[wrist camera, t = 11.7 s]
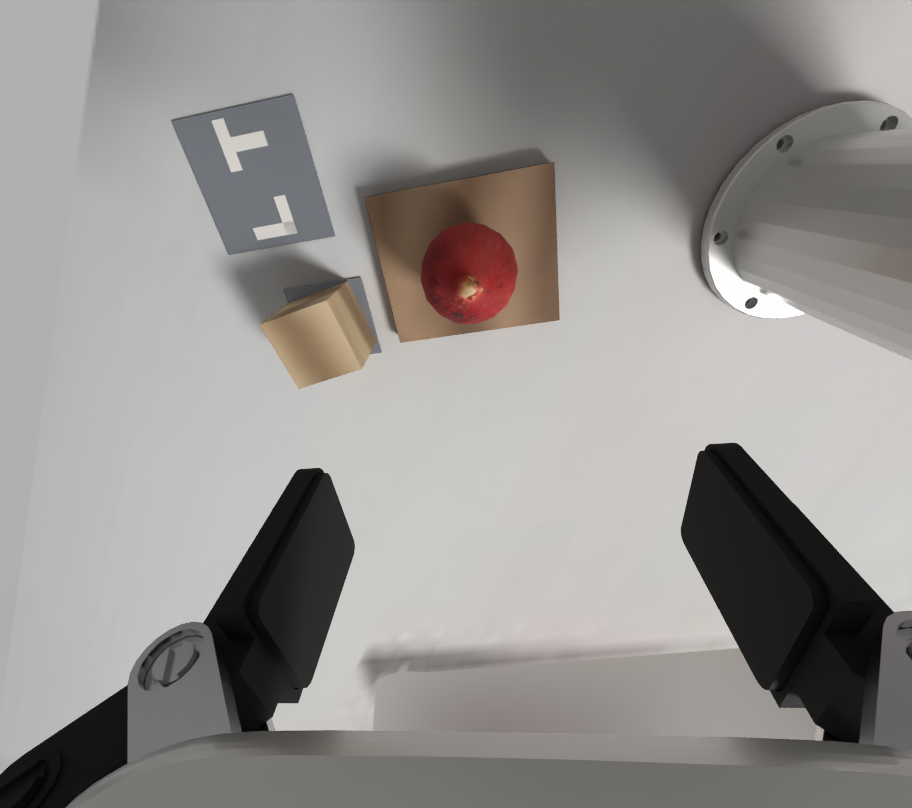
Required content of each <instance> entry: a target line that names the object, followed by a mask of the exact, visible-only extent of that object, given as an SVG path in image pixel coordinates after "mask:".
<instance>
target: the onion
mask: <svg viewBox="0 0 912 808" xmlns="http://www.w3.org/2000/svg"><path fill="white" fill-rule="evenodd" d="M517 274H518V266H517V262H516V258H515V255H514V251H513V248H512V247H511V246H510V245H509V243H508V242H507V241H506V240H505V238H504V237H503V236H502V235H501V234H500V233H498V232H496V231H495V230H493V229H491V228H489V227H487V226H486V225H484V224H476V223H467V222H463V223H460V224H457V225H454V226H450V227H447V228H444V229H443V230H442V231H441V232H440V233H439V234H438V235H437V236H436V237H435V238H434V239H433V240H432V241H431V242H430V244H429V246H428V248H427V251H426V253H425V255H424V257H423V260H422V270H421V284H422V287H423V290H424V293H425V297H426V300H427V301H428V302H429V303H430V304H431V306H432V307H433V308H434V309H435V310H436V312H437V313H438V314H439V315H441V316H443V317H445V318H447V319H449V320H451V321H453V322H455V323H457V324H477V323H480V322H483V321H485V320H488V319H490V318H493V317H494V316H495V315H497V314H498V313H499V312H500V311H501V310H502V309H503V308H504V307H506V305H507V304H508V302H509V300H510V298H511V296H512V294H513V292H514V290H515V286H516V280H517Z"/></svg>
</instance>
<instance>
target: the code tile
mask: <svg viewBox="0 0 912 808" xmlns="http://www.w3.org/2000/svg"><path fill="white" fill-rule="evenodd" d="M172 123H173V126H174V128H175V130H176V133H177V135H178V137H179V140H180V142H181V144H182V147H183V149H184V151H185V154H186V156H187V158H188V161H189V163H190V165H191V168H192V170H193V172H194V175H195V177H196V179H197V182H198V184H199V186H200V189H201V191H202V193H203V196H204V198H205V200H206V203H207V205H208V207H209V210H210V212H211V214H212V217H213V219H214V221H215V224H216V226H217V228H218V231H219V233H220V235H221V238H222V240H223V242H224V245H225V247H226V249H227V252H228V254H229V255H231V254H237V253H242V252H248V251H254V250H259V249H265V248H271V247H276V246H282V245H288V244H293V243H299V242H305V241H310V240H316V239H322V238H327V237H333V236H335V234H334V230H333V227H332V223H331V220H330V217H329V213H328V210H327V206H326V203H325V200H324V196H323V193H322V189H321V186H320V183H319V179H318V176H317V172H316V169H315V166H314V162H313V159H312V155H311V152H310V149H309V145H308V142H307V138H306V135H305V131H304V128H303V125H302V121H301V118H300V114H299V111H298V108H297V104H296V101H295V97H294V95H293V94H292V95H287V96H283V97H278V98H274V99H269V100H265V101H260V102H256V103H251V104H247V105H242V106H238V107H233V108H228V109H224V110H219V111H215V112H210V113H206V114H201V115H197V116H192V117H188V118H183V119H179V120H174V121H172Z"/></svg>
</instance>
